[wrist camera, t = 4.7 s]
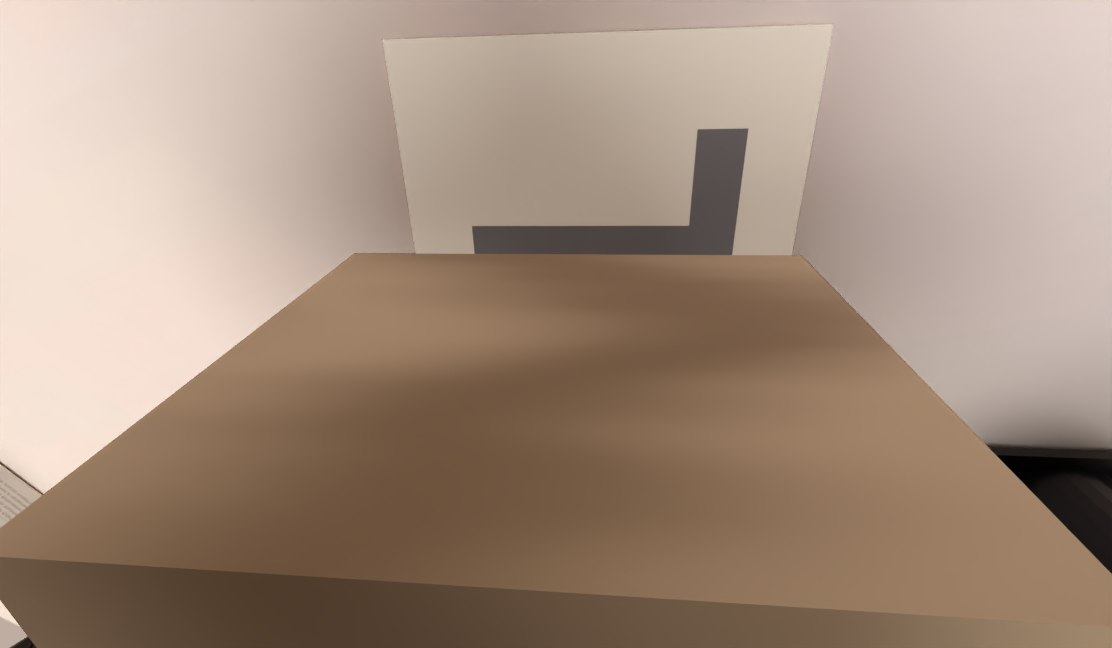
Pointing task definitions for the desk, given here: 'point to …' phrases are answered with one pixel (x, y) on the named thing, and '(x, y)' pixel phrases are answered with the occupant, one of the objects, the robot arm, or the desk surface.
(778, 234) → the board
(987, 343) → the desk surface
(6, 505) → the small box
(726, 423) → the light oak block
